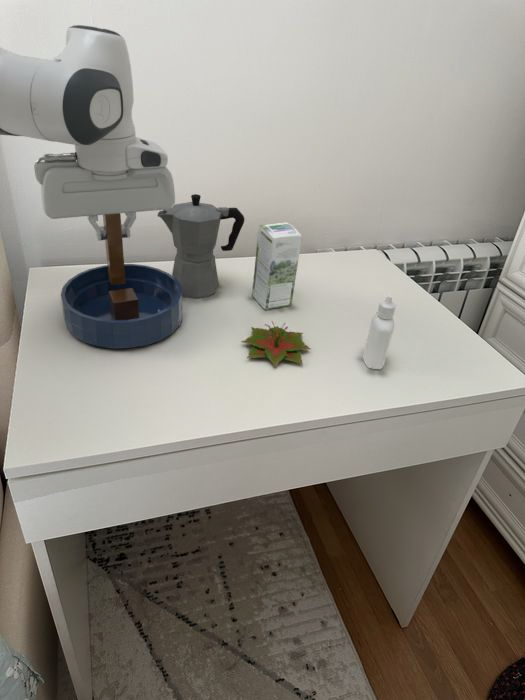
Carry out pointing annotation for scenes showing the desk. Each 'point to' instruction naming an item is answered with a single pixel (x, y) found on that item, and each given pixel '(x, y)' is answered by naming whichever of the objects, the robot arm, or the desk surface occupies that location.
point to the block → (124, 304)
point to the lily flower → (276, 344)
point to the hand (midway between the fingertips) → (113, 237)
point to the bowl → (95, 316)
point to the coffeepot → (198, 243)
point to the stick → (114, 248)
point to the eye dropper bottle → (379, 335)
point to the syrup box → (276, 265)
